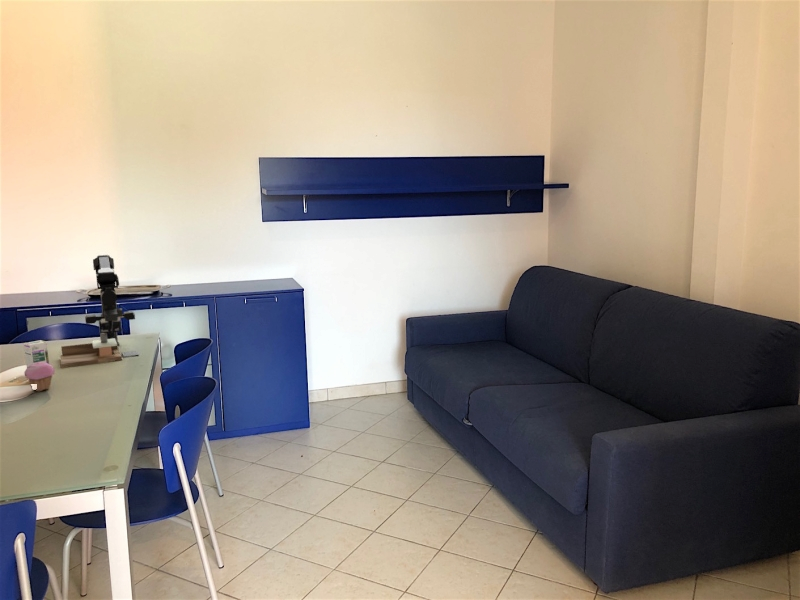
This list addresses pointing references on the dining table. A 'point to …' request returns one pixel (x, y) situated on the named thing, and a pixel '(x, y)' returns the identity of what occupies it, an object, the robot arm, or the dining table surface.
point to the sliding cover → (104, 341)
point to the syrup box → (36, 352)
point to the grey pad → (130, 353)
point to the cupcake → (40, 375)
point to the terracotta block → (105, 351)
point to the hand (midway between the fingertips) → (112, 337)
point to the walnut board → (86, 355)
